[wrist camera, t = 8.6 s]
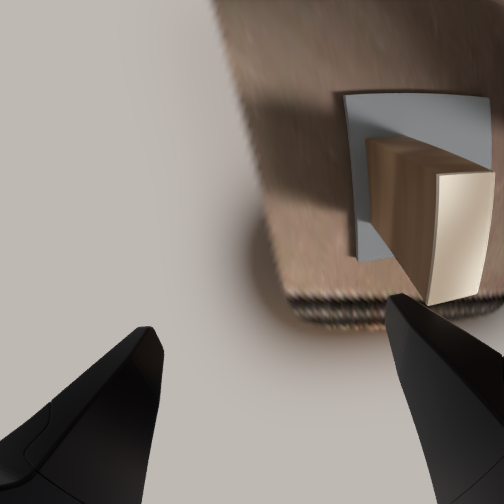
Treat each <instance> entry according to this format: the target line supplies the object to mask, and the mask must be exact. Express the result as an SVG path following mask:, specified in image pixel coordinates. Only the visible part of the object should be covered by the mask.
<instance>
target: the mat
mask: <svg viewBox="0 0 504 504" xmlns="http://www.w3.org/2000/svg"><path fill="white" fill-rule="evenodd" d="M343 102H344V109H345V116H346V124H347V132H348V141H349V150H350V160H351V171H352V183H353V197H354V213H355V235H356V259H357V261H358V263H360V262H366V261H373V260H379V259H385V258H391V257H395V256H394V255H393V254H392V252H391V251H390V249H389V248H388V247H387V245H386V244H385V242H384V241H383V240H382V238H381V237H380V236H379V234H378V233H377V232H376V230H375V229H374V228H373V226H372V225H371V224H370V201H369V182H368V168H367V155H366V144H365V139H366V138H379V137H394V136H408V137H410V138H413V139H416V140H419V141H422V142H425V143H427V144H430V145H433V146H435V147H438V148H441V149H443V150H446V151H448V152H451V153H453V154H455V155H458V156H460V157H463V158H465V159H467V160H470V161H472V162H474V163H476V164H479V165H481V166H483V167H485V168H487V169H489V170H491V153H492V138H491V111H490V98H486V97H476V96H465V95H451V94H429V93H378V94H355V95H343Z"/></svg>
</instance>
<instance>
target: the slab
mask: <svg viewBox="0 0 504 504" xmlns="http://www.w3.org/2000/svg"><path fill="white" fill-rule="evenodd" d="M365 144H366V155H367V168H368V182H369V201H370V224H371V225H372V226H373V228H374V229H375V230H376V232H377V233H378V234H379V236H380V237H381V238H382V240H383V241H384V242H385V244H386V245H387V247H388V248H389V249H390V251H391V252H392V254H393V255H394V256H395V258H396V259H397V261H398V262H399V264H400V265H401V266H402V268H403V269H404V271H405V272H406V274H407V275H408V277H409V278H410V280H411V281H412V283H413V284H414V286H415V287H416V289H417V290H418V292H419V293H420V295H421V296H422V298H423V300H424V301H425V303H426V304H427V306H429V305H434V304H438V303H442V302H446V301H450V300H455V299H459V298H463V297H466V296H470V295H474V294H477V293H478V289H479V284H480V280H481V276H482V271H483V266H484V261H485V256H486V250H487V244H488V238H489V231H490V224H491V216H492V207H493V197H494V184H495V172H494V171H492V170H489V169H487V168H485V167H483V166H481V165H479V164H476V163H474V162H472V161H470V160H467V159H465V158H463V157H460V156H458V155H455V154H453V153H451V152H448V151H446V150H443V149H441V148H438V147H435V146H433V145H430V144H427V143H425V142H422V141H419V140H416V139H413V138H410V137H408V136H394V137H379V138H366V139H365Z"/></svg>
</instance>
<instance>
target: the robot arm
mask: <svg viewBox="0 0 504 504" xmlns="http://www.w3.org/2000/svg"><path fill="white" fill-rule="evenodd" d="M385 326H386V331H387V334H388V338H389V342H390V346H391V349H392V353H393V357H394V361H395V365H396V370H397V373H398V377H399V380H400V383H401V386H402V389H403V392H404V394H405V397H406V400H407V403H408V406H409V409H410V412H411V415H412V417H413V421H414V424H415V426H416V430H417V433H418V436H419V439H420V442H421V446H422V449H423V452H424V455H425V459H426V462H427V466H428V469H429V473H430V476H431V480H432V484H433V488H434V492H435V496H436V500H437V503H438V504H504V356H503V357H502V355H501V354H500V353H499V352H497V351H495V350H494V349H492V348H491V347H489V346H488V345H486V344H485V343H483V342H481V341H480V340H478V339H477V338H475V337H474V336H472V335H470V334H469V333H467V332H466V331H464V330H463V329H461V328H460V327H458V326H456V325H455V324H453V323H451V322H450V321H448V320H447V319H445V318H443V317H442V316H440V315H439V314H437V313H435V312H434V311H432V310H430V309H429V308H427V307H425V306H424V305H422V304H420V303H419V302H417V301H415V300H414V299H412V298H410V297H409V296H407V295H405V294H403V293H400V294H395V295H390V296H389V297H388V299H387V307H386V318H385ZM163 362H164V350H163V346H162V344H161V342H160V340H159V338H158V336H157V334H156V332H155V330H154V329H153V327H150V326H145V327H138V328H136V329H135V330H134V331H133V332H131V333H130V334H129V335H128V336H127V337H126V338H124V339H123V340H122V341H121V342H120V343H118V344H117V345H116V346H115V347H114V348H112V349H111V350H110V351H109V352H108V353H106V354H105V355H104V356H103V357H102V358H100V359H99V360H98V361H97V362H96V363H95V364H93V365H92V366H91V367H90V368H89V369H87V370H86V371H85V372H84V373H83V374H82V375H81V376H79V377H78V378H77V379H76V380H75V381H73V382H72V383H71V384H70V385H69V386H68V387H66V388H65V389H64V390H63V391H62V392H61V393H60V394H58V395H57V396H56V397H55V398H54V399H52V401H51V402H49V403H48V404H46V406H44V407H43V408H42V409H41V410H40V411H38V412H37V413H36V414H35V415H34V416H33V417H31V418H30V419H29V420H27V421H26V422H25V423H23V424H22V425H21V426H20V427H18V428H17V429H16V430H14V431H13V432H12V433H10V434H9V435H8V436H6V437H5V438H4V439H2V440H1V441H0V504H141V502H142V496H143V490H144V484H145V478H146V472H147V466H148V460H149V454H150V449H151V443H152V438H153V433H154V428H155V423H156V418H157V413H158V408H159V402H160V393H161V382H162V372H163Z"/></svg>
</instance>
